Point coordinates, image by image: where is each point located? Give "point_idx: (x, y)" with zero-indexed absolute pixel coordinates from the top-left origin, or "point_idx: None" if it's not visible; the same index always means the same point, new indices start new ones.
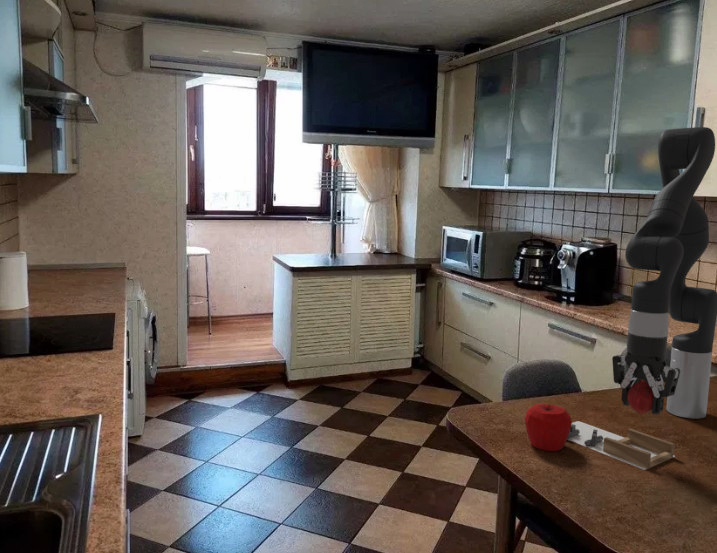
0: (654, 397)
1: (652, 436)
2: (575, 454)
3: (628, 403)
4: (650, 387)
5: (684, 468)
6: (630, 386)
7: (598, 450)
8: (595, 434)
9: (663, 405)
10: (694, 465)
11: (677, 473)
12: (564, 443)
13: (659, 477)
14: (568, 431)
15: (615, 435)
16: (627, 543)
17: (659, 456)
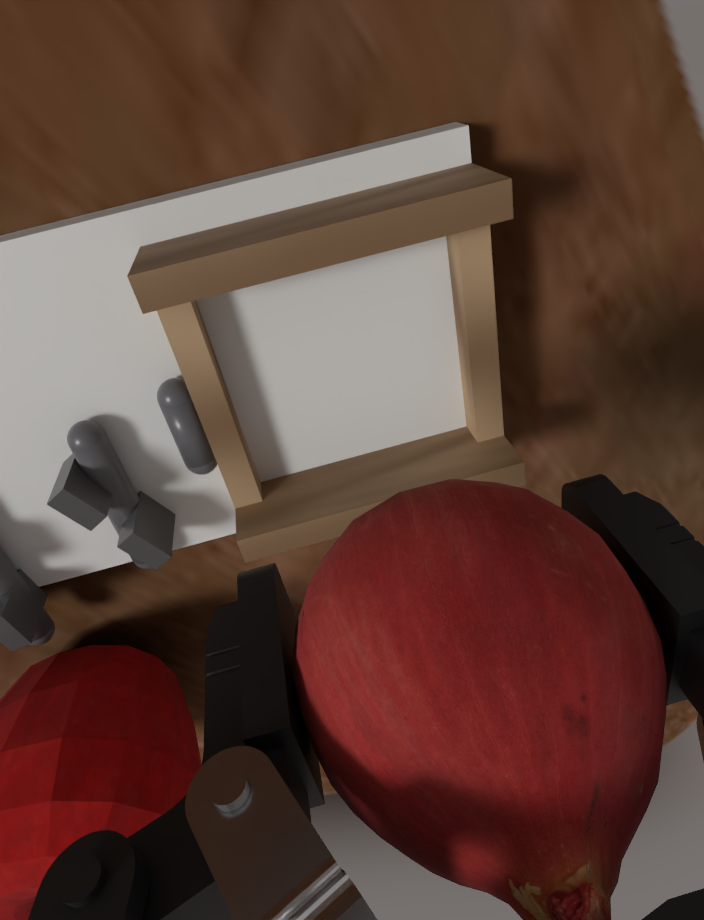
0: (682, 699)
1: (335, 230)
2: (179, 587)
3: (289, 613)
4: (653, 788)
5: (545, 157)
6: (295, 785)
7: (226, 524)
8: (140, 542)
9: (691, 537)
10: (557, 32)
11: (558, 264)
12: (168, 680)
13: (533, 392)
14: (181, 739)
15: (8, 264)
16: (687, 716)
17: (485, 331)
